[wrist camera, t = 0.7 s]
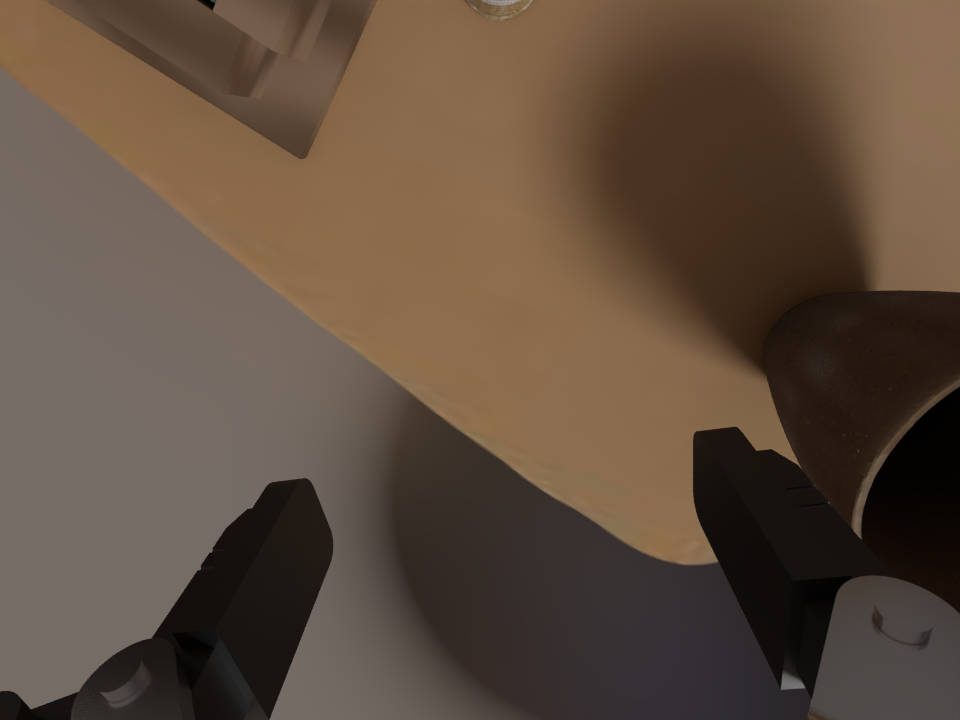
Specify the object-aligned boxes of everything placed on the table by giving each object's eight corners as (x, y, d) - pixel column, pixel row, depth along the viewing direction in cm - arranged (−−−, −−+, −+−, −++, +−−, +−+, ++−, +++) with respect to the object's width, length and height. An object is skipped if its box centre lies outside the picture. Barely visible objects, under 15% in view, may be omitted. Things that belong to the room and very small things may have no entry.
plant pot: (669, 317, 34) (799, 454, 20) (894, 184, 31) (1260, 232, 16) (757, 467, 39) (914, 665, 25) (960, 368, 35) (1288, 534, 21)
